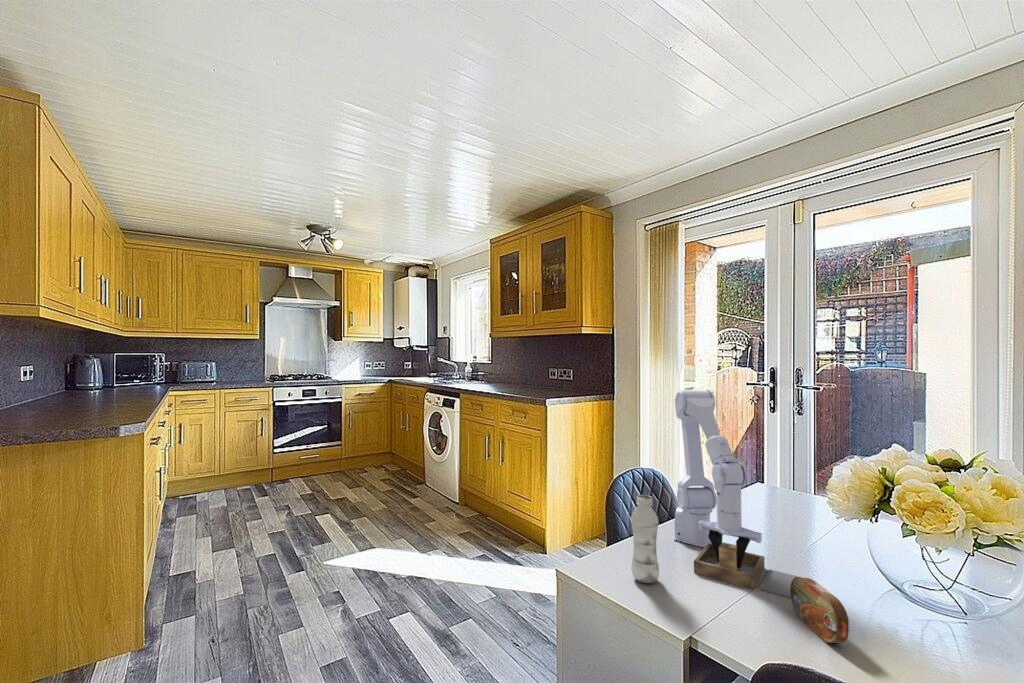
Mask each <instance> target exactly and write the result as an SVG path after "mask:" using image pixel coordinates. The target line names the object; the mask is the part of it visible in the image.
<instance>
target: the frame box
mask: <svg viewBox="0 0 1024 683" xmlns="http://www.w3.org/2000/svg"><path fill="white" fill-rule="evenodd" d="M710 556H711V557H713V556H714V558H717V557H716V553H715V550H714V548H713V545H712V543H711V544H710V543H708V545H707V546H706V547H705V548H704V547H703V549H702V550H701V552H700V553H699V554H698V555H697V557H695V559H693V573H694V572H695V573H694V574H697V573H698V574H697V575H700V574H702V576H705V577H707V576H708V578H711V579H715V580H718V581H721V582H725V583H728V584H732V585H736V586H739V587H744V588H747V589H751V590H753V591H755V589H756V587H757V585H758V583H759V580H760V578H761V577H762V574H763V572H764V571H765V564H766V563H765V556H764V555H759V554H755V553H752V552H748V551H747V552H746V551H745V553H744V557H743V561H742V565H744V566H745V565H746V566H750V567H752V568H753V569H752V572H751V573H747V572H743V571H736V570H733V569H729V568H725V567H721V566H719V565H716V564H714V563H710V562H708V561H709V559H710V558H711V557H710ZM707 560H708V561H707Z"/></svg>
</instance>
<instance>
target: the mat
mask: <svg viewBox="0 0 1024 683" xmlns="http://www.w3.org/2000/svg"><path fill="white" fill-rule="evenodd" d="M795 577H799V576H797V575H795V574H794V575H793V574H790V573H786V572H783V571H782V572H781V571H777V570H775V569H768V571H767V573H766V575H765V578H764V580H763V582H762V584H761V587H760V591H763V592H767V593H770V594H774V595H778V596H781V597H784V598H788V599H791V595H790V588H791V583H792V580H793V579H794V578H795ZM800 577H801V578H803V577H802V576H800Z"/></svg>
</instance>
